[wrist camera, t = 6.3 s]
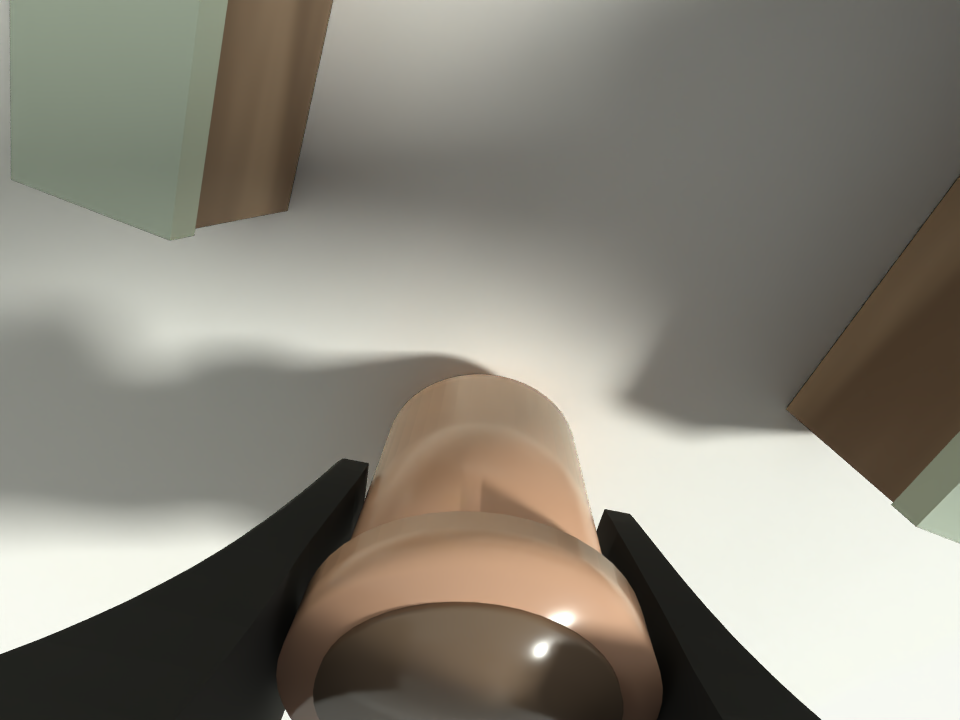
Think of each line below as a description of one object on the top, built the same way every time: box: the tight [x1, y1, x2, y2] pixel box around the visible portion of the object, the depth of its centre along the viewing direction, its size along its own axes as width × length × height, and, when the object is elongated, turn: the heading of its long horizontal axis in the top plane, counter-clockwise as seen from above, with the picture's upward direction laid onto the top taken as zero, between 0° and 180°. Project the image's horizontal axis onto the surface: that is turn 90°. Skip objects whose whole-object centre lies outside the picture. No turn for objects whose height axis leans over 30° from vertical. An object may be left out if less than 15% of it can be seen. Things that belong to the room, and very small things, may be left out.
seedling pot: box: [276, 374, 663, 720], centre depth 10 cm, size 6×6×6 cm
